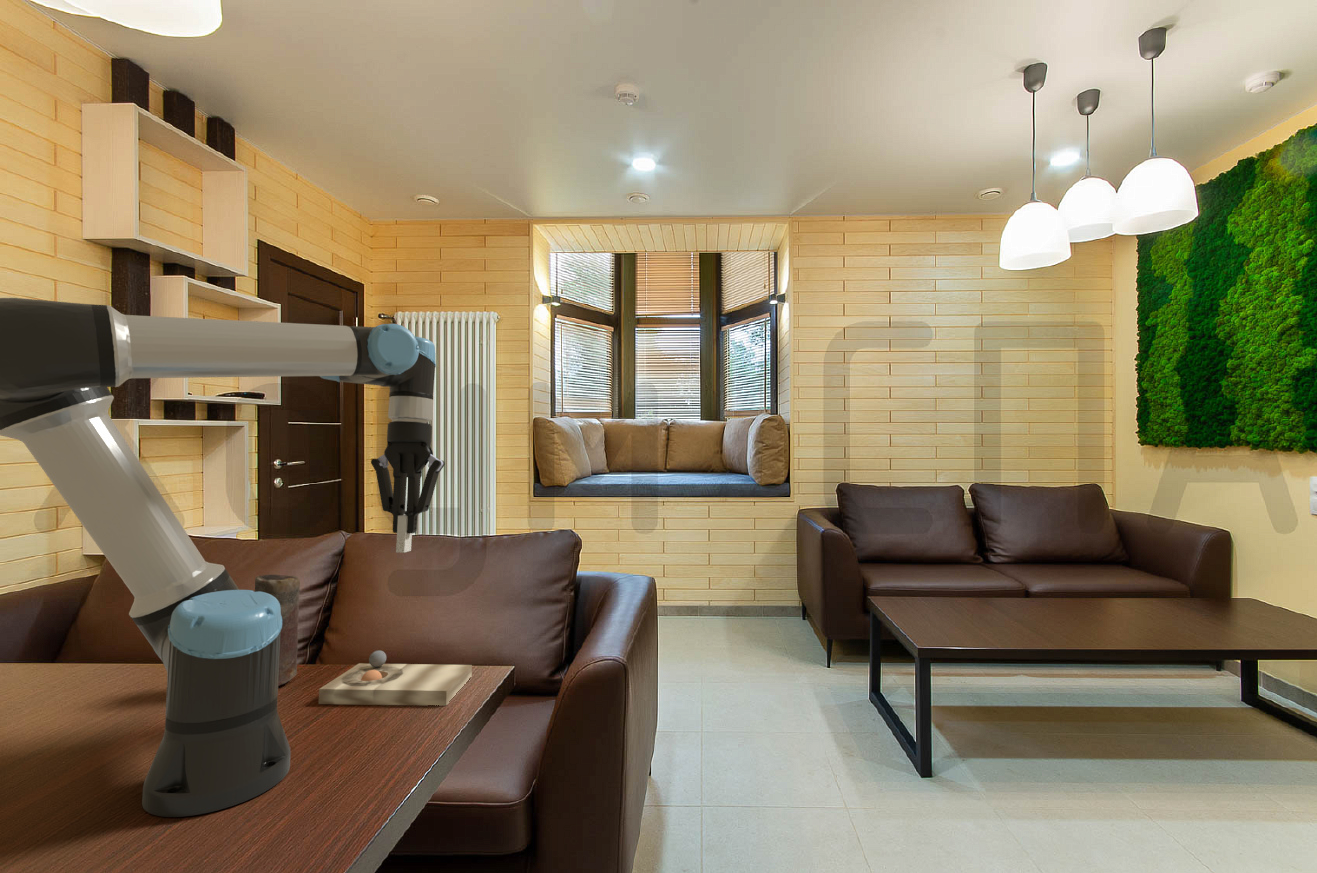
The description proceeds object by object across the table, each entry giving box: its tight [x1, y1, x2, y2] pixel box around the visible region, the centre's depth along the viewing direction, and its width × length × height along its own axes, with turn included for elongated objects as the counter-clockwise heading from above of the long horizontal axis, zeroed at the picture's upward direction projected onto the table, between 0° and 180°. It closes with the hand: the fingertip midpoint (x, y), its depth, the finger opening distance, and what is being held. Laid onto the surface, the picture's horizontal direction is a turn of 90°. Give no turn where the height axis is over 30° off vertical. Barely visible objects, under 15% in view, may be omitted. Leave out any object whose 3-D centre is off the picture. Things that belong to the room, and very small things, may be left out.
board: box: [318, 662, 473, 707], centre depth 106 cm, size 22×13×2 cm, turn 89°
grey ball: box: [368, 649, 387, 667], centre depth 111 cm, size 3×3×3 cm
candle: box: [254, 574, 301, 687], centre depth 109 cm, size 8×7×20 cm
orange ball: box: [361, 670, 382, 681], centre depth 106 cm, size 4×4×4 cm
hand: (403, 551), depth 105 cm, fingers closed
